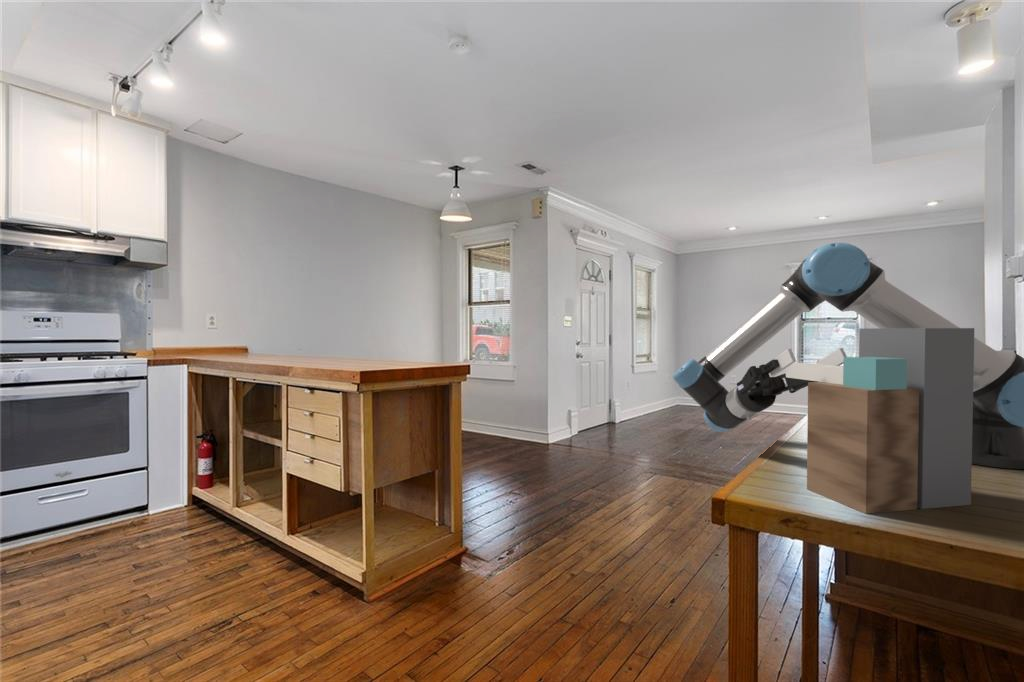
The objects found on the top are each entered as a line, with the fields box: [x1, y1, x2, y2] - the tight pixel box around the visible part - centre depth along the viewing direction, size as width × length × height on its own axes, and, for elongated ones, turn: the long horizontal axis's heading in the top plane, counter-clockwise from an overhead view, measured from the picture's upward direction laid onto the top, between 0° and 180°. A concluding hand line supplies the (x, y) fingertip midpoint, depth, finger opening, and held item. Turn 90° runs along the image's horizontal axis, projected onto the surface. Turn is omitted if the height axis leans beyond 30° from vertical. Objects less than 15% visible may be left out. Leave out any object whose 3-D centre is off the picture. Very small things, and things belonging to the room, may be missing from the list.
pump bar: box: [785, 356, 907, 390], centre depth 87 cm, size 6×21×5 cm, turn 10°
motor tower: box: [858, 327, 975, 510], centre depth 84 cm, size 10×12×30 cm
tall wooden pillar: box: [806, 382, 919, 514], centre depth 83 cm, size 10×12×20 cm
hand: (818, 354), depth 90 cm, fingers open, 11 cm apart
